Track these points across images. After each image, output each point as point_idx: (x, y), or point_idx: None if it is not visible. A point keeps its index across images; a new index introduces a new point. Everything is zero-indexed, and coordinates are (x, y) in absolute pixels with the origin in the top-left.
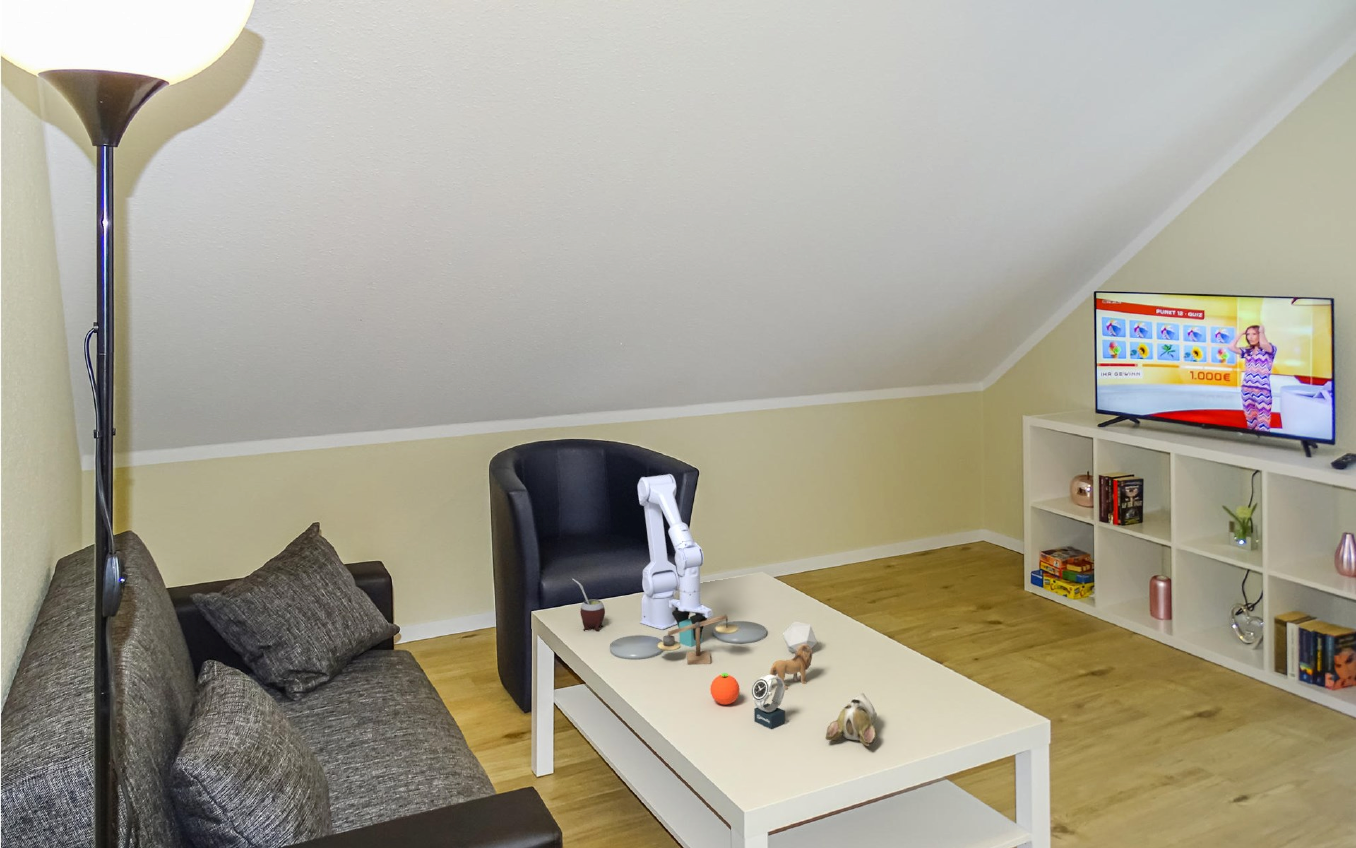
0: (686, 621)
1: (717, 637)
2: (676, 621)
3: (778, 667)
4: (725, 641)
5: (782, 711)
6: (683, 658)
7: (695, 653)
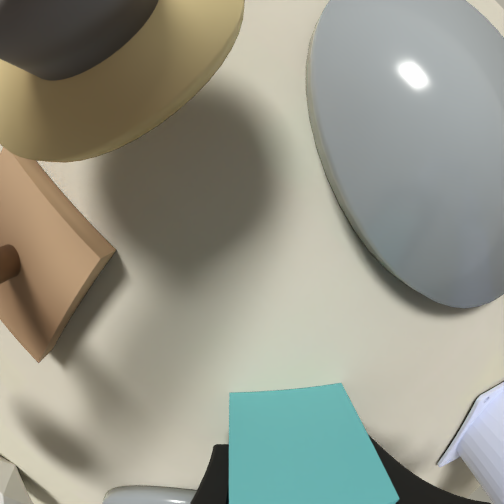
0: None
1: None
2: (431, 486)
3: None
4: (161, 489)
5: None
6: (101, 198)
7: (39, 277)
